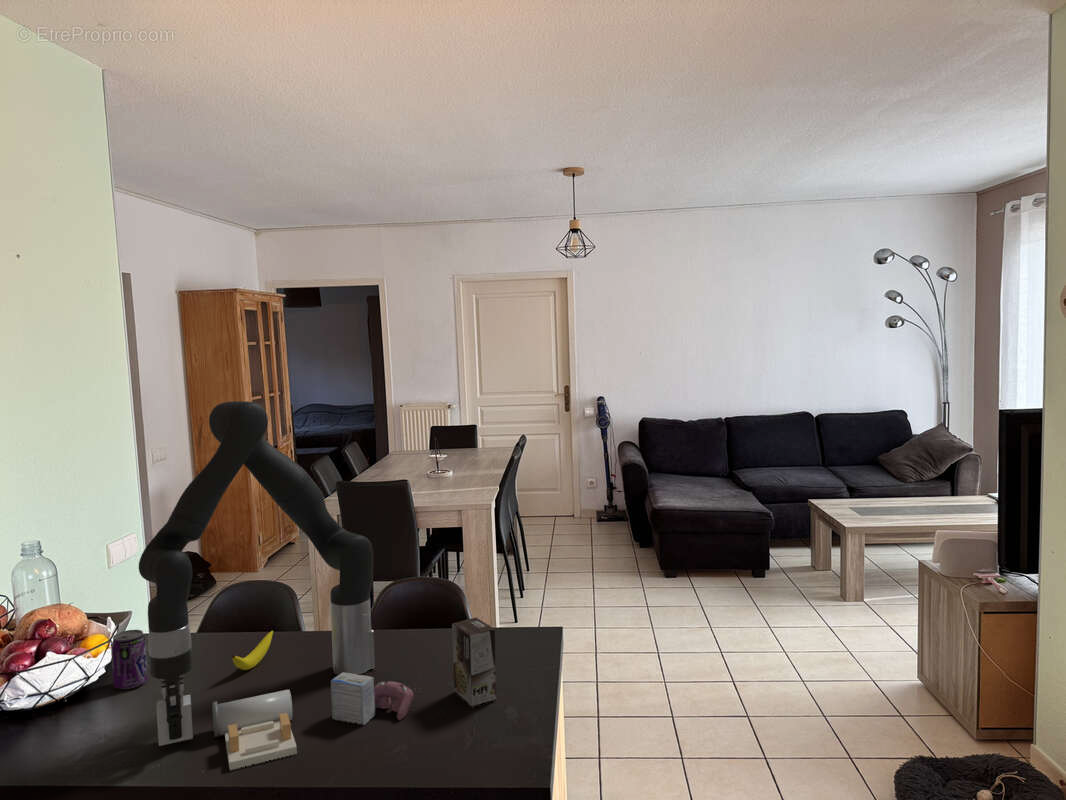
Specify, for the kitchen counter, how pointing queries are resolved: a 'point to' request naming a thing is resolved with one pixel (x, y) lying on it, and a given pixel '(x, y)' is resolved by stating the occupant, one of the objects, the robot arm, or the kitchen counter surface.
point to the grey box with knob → (164, 726)
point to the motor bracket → (256, 728)
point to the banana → (254, 654)
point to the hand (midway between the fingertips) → (175, 731)
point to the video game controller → (395, 690)
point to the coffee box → (474, 661)
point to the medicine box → (352, 698)
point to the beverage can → (129, 659)
